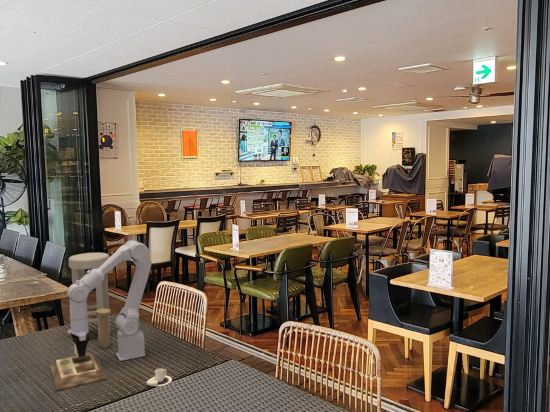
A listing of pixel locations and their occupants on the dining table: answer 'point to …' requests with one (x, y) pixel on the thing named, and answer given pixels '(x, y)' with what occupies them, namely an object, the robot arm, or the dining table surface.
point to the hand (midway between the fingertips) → (80, 353)
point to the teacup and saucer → (159, 378)
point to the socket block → (76, 372)
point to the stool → (78, 271)
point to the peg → (79, 359)
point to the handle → (104, 327)
